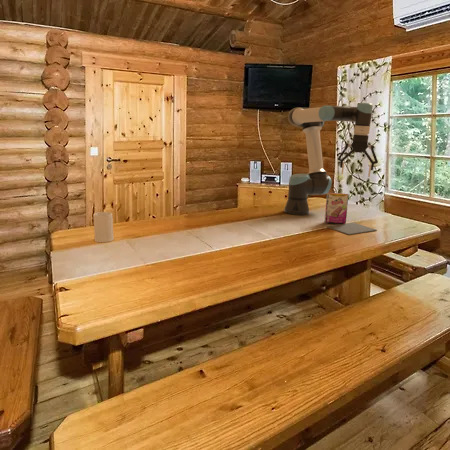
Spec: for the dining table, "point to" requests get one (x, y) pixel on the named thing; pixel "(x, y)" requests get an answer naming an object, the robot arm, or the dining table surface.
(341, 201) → the candy bar box
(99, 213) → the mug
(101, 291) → the dining table surface
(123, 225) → the dining table surface
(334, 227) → the rubber mat
